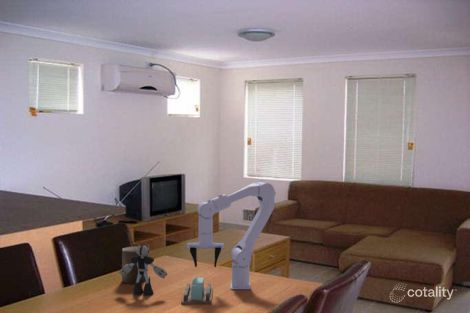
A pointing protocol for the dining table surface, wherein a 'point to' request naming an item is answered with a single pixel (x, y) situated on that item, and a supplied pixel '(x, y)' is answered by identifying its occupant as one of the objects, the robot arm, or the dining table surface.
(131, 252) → the pillar candle
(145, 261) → the robot
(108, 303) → the dining table surface
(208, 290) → the cradle
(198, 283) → the tall teal pillar block
